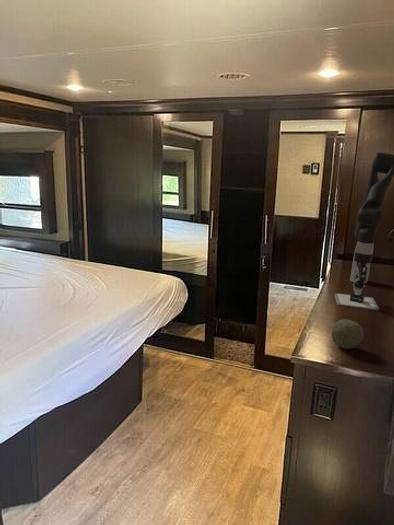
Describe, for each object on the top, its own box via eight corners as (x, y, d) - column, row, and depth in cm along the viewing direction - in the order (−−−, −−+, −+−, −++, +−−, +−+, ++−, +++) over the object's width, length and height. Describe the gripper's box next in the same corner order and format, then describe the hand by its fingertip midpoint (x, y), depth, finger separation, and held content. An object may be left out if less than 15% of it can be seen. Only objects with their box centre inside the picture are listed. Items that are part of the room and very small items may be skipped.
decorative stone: (329, 349, 135) (333, 322, 132) (330, 340, 142) (334, 314, 140) (361, 356, 131) (366, 328, 129) (360, 346, 139) (365, 319, 137)
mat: (334, 294, 198) (334, 292, 198) (372, 298, 194) (372, 297, 194) (337, 305, 181) (338, 304, 181) (379, 310, 177) (380, 309, 177)
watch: (348, 301, 185) (352, 279, 183) (352, 297, 192) (355, 275, 189) (361, 304, 182) (365, 281, 180) (364, 300, 189) (368, 278, 187)
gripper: (375, 255, 174) (369, 291, 178) (369, 249, 188) (364, 282, 192) (357, 254, 176) (352, 288, 180) (353, 248, 189) (348, 280, 193)
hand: (358, 285), depth 186 cm, fingers closed on watch, 8 cm apart
